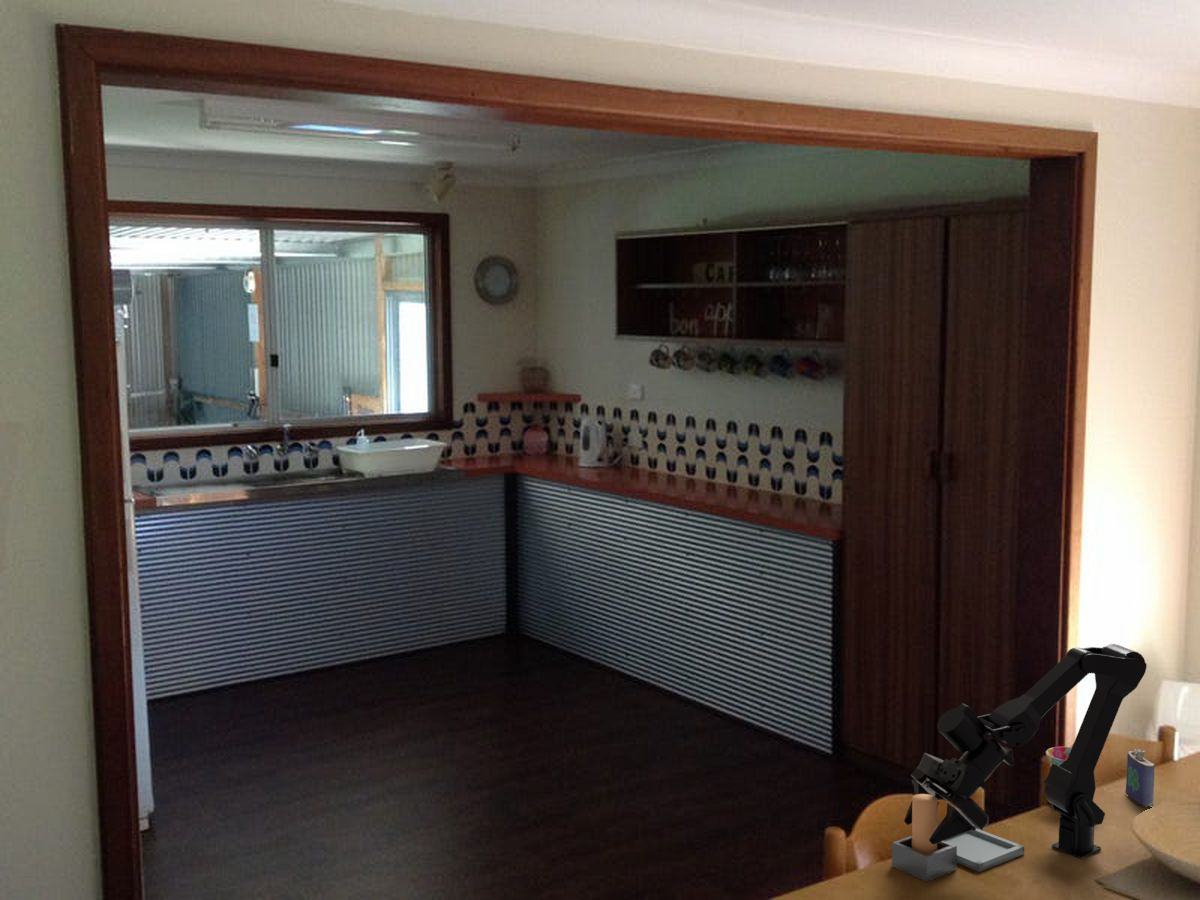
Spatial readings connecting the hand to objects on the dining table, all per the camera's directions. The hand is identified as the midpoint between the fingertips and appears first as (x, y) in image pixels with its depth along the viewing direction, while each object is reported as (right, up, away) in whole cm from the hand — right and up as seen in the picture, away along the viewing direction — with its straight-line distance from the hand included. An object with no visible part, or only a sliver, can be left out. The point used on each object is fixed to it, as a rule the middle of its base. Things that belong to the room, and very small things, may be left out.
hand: (918, 832), depth 231 cm
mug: (+39, -4, +32) cm, 51 cm away
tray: (+12, -6, +8) cm, 16 cm away
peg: (+1, -7, +1) cm, 7 cm away
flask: (+53, -3, +33) cm, 63 cm away
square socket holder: (+1, -7, +1) cm, 7 cm away
